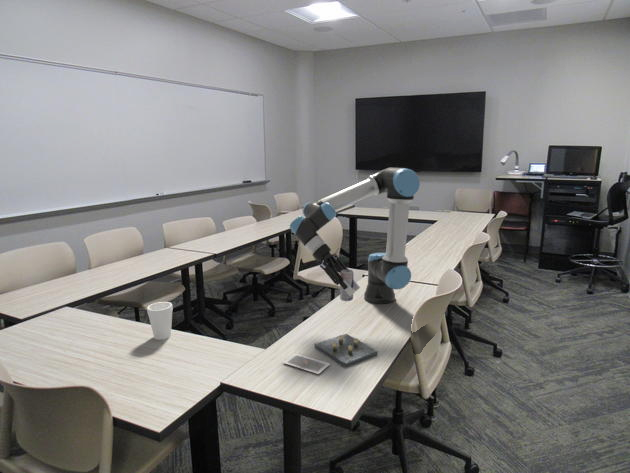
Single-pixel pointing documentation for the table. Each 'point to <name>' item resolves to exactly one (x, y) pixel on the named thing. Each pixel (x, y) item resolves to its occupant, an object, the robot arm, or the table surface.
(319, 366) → the touchpad
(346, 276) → the energy drink
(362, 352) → the standoff plate
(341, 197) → the robot arm
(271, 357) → the table surface
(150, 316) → the foam cup
